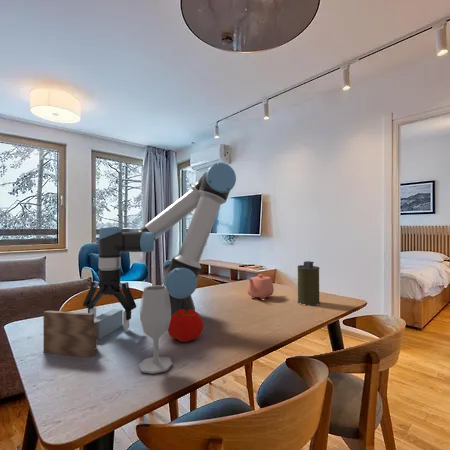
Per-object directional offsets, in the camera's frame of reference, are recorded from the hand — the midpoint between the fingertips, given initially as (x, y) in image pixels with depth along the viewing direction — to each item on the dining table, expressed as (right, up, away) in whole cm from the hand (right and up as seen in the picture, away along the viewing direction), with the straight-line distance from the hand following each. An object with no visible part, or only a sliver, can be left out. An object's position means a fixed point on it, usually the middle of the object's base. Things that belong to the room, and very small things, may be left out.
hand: (109, 327), depth 106 cm
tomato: (+29, -1, -9) cm, 30 cm away
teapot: (+60, -1, +46) cm, 76 cm away
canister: (+83, -1, +36) cm, 90 cm away
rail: (0, -1, -2) cm, 2 cm away
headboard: (-4, -1, -18) cm, 18 cm away
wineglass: (+24, -1, -29) cm, 37 cm away
